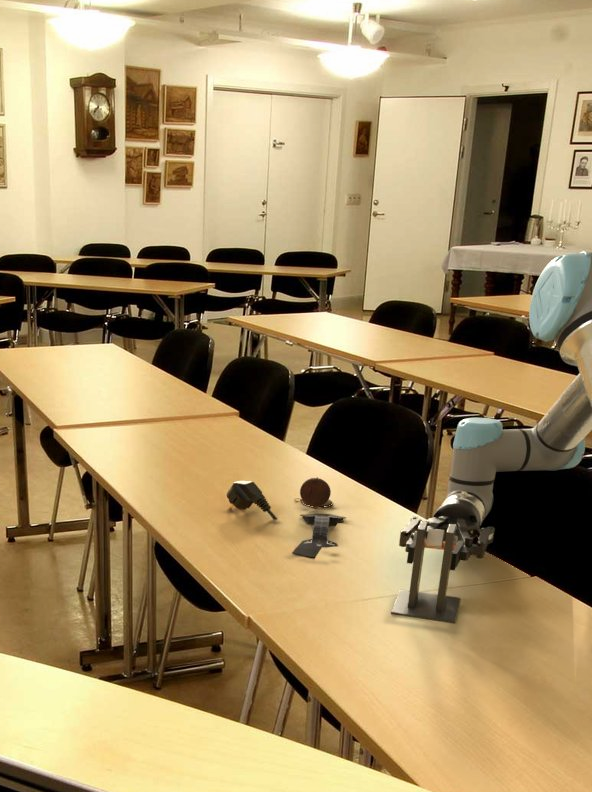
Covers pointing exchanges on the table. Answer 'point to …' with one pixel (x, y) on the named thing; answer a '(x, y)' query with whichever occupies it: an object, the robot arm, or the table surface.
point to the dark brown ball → (315, 493)
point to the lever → (436, 539)
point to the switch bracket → (428, 603)
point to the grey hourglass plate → (317, 534)
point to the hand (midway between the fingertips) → (431, 558)
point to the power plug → (247, 497)
